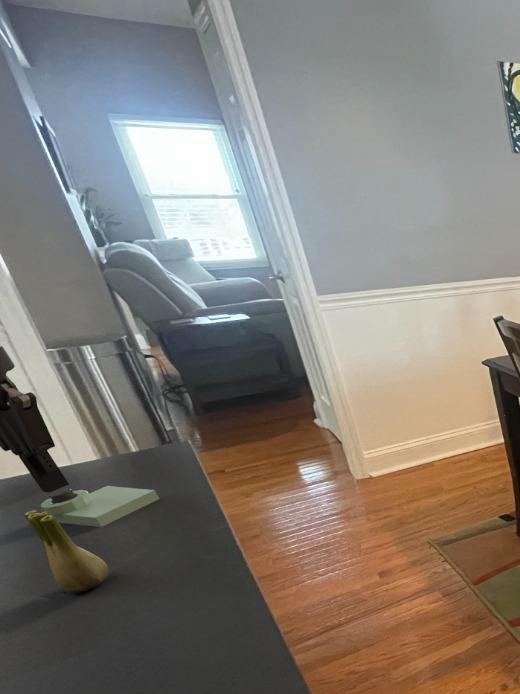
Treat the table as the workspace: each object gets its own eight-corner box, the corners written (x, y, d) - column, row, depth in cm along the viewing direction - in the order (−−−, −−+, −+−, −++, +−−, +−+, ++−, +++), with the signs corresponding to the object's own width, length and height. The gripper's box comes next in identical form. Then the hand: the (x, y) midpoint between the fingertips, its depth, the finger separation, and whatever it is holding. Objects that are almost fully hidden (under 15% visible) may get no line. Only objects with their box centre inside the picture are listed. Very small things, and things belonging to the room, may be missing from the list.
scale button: (50, 503, 99) (44, 495, 98) (69, 495, 101) (63, 487, 100) (62, 504, 98) (56, 496, 97) (80, 496, 100) (75, 488, 100)
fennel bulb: (69, 583, 84) (16, 511, 78) (116, 568, 87) (68, 497, 81) (63, 603, 80) (7, 528, 74) (113, 586, 83) (62, 513, 77)
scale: (44, 523, 99) (31, 505, 97) (109, 494, 107) (98, 477, 106) (97, 529, 97) (85, 511, 95) (159, 499, 105) (149, 482, 103)
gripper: (-105, 355, 85) (-2, 496, 96) (-40, 358, 83) (58, 502, 94) (-35, 340, 92) (54, 474, 103) (27, 343, 89) (112, 479, 100)
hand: (56, 487), depth 98 cm, fingers closed
